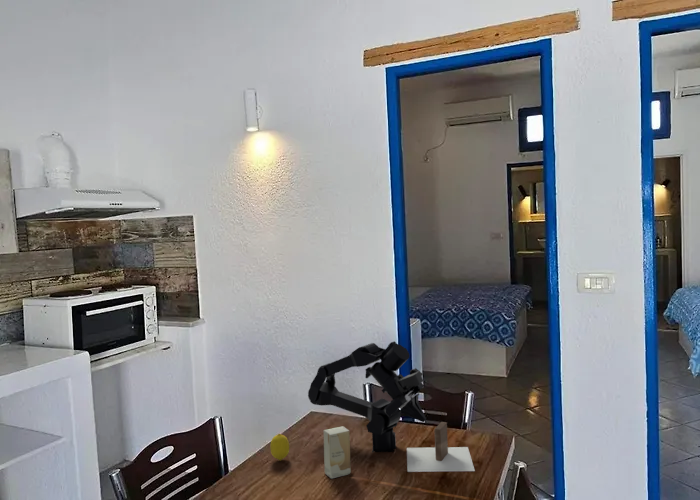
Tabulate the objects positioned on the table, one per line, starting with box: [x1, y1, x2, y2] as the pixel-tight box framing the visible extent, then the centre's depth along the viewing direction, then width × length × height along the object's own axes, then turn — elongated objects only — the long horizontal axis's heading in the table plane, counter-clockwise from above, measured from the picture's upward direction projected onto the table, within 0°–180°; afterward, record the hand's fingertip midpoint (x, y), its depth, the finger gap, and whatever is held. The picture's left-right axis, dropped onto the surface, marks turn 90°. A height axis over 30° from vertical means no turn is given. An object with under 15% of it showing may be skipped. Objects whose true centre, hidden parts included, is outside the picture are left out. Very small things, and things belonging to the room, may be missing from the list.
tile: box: [434, 421, 449, 461], centre depth 163 cm, size 2×6×9 cm, turn 153°
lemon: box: [270, 433, 290, 462], centre depth 167 cm, size 6×6×8 cm
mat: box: [406, 446, 476, 473], centre depth 162 cm, size 18×16×1 cm
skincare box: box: [323, 425, 352, 479], centre depth 156 cm, size 6×4×12 cm
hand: (424, 420), depth 165 cm, fingers closed
